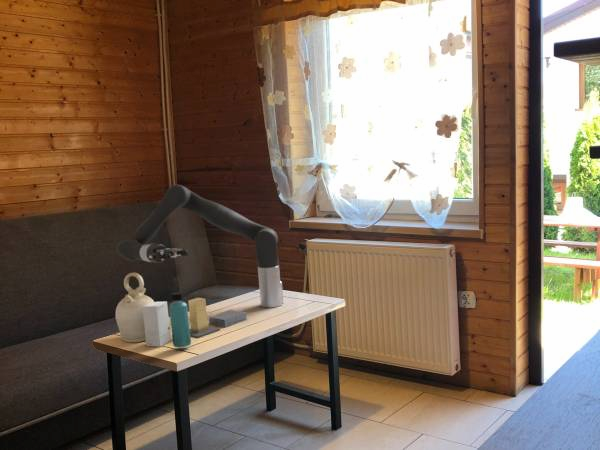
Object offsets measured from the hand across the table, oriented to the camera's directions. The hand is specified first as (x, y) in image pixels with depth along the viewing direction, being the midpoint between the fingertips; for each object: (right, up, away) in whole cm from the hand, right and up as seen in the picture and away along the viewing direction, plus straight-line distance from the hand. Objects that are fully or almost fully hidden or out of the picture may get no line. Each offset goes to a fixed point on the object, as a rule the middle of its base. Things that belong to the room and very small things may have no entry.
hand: (179, 255), depth 255 cm
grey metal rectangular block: (+19, -27, +2) cm, 33 cm away
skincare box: (-3, -31, -20) cm, 37 cm away
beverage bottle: (+7, -32, -29) cm, 43 cm away
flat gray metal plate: (+10, -29, -9) cm, 32 cm away
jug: (-13, -31, -11) cm, 35 cm away
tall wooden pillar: (+10, -28, -9) cm, 31 cm away
